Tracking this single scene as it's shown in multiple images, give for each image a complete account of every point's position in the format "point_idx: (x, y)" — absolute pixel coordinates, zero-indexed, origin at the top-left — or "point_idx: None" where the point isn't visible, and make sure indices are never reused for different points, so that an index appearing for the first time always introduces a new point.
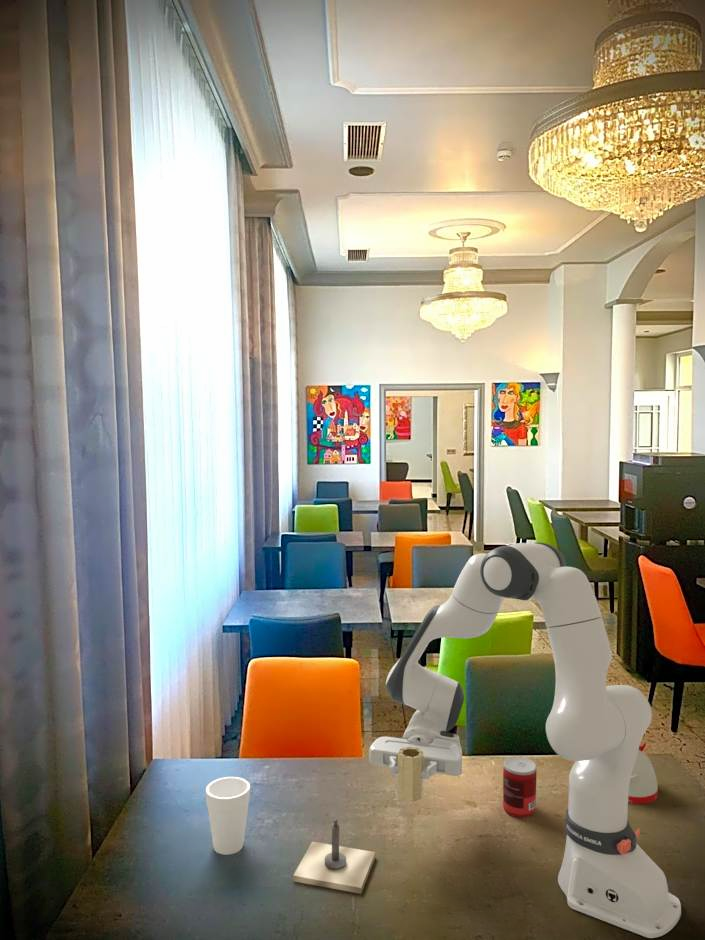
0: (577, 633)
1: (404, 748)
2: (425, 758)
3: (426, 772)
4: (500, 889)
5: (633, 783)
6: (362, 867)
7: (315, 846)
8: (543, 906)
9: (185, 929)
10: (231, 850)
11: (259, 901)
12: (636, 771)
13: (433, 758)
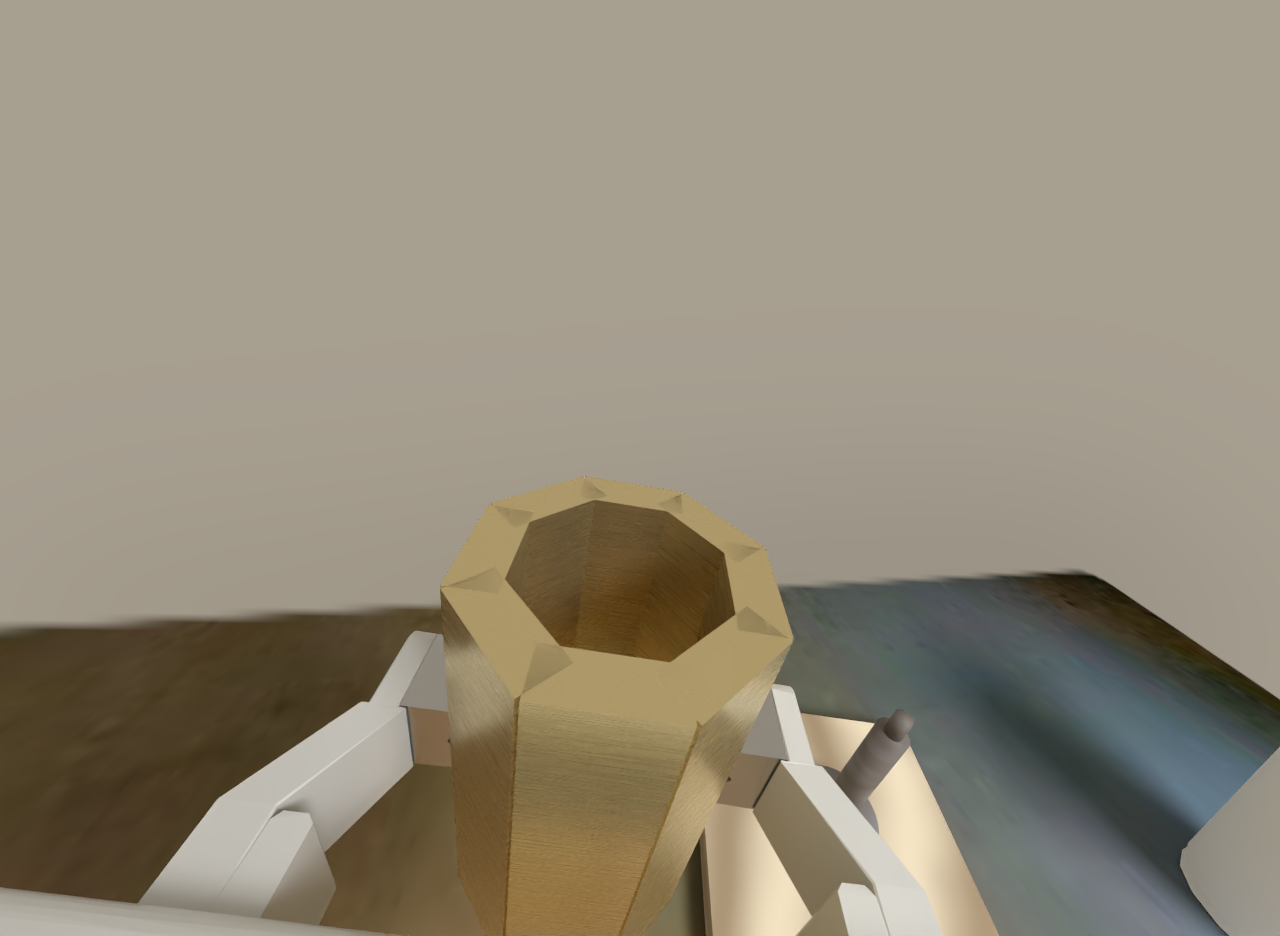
0: None
1: (739, 663)
2: (348, 930)
3: (437, 635)
4: (159, 809)
5: None
6: (727, 809)
7: None
8: (47, 726)
9: (946, 583)
10: (1188, 847)
11: (902, 655)
12: None
13: (183, 912)
